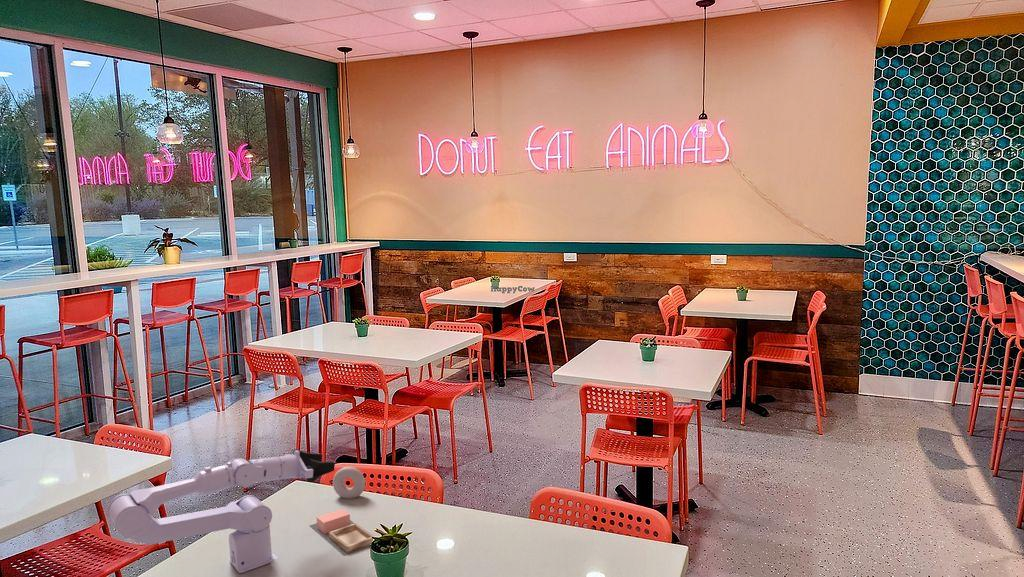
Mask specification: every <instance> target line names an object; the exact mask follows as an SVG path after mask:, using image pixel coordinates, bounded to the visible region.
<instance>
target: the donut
mask: <svg viewBox="0 0 1024 577" xmlns="http://www.w3.org/2000/svg"><path fill="white" fill-rule="evenodd" d="M346 479H351V480H352V482H353V486H352V487H348V486H347V485H346V484H345V480H346ZM332 485H333V486H332V487H333V490H334V491H335V493H336V494H337V495H338V496H339V497H341V498H343V499H348V500H349V499H350V500H351V499H356V498H358V497H360V496H361V494H362V493H363V492H364V490H365V487H366V480H365V477H364V475H363V473H362V471H361V470H360V469H358V468H356V467H354V466H344V467H341V468H340V469H338V470H337V471H336V472H335V474H334V475H333V479H332Z"/></svg>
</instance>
